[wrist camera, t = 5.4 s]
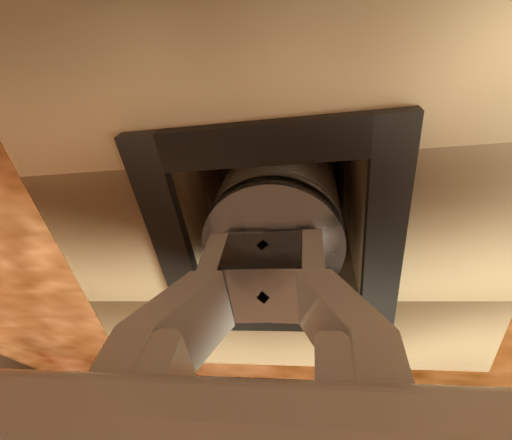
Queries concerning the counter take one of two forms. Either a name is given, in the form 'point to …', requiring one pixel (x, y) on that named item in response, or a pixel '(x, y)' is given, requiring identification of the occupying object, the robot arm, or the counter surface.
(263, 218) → the peg
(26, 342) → the counter surface
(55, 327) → the counter surface
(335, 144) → the socket block
